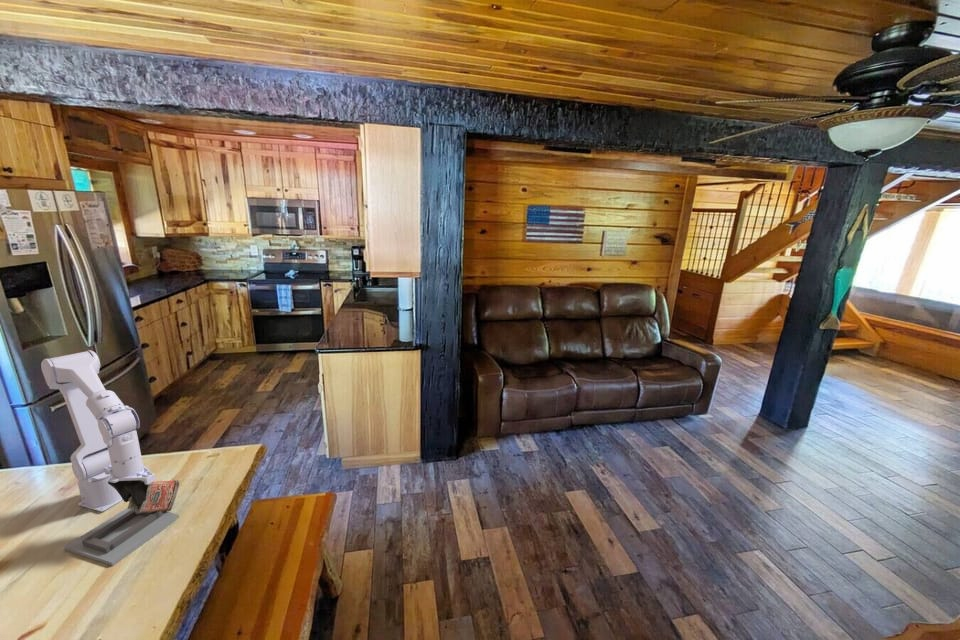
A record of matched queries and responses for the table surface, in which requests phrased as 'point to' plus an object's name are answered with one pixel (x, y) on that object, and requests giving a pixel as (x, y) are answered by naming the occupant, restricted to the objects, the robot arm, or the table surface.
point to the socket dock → (120, 535)
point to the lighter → (157, 497)
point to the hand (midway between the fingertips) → (135, 501)
